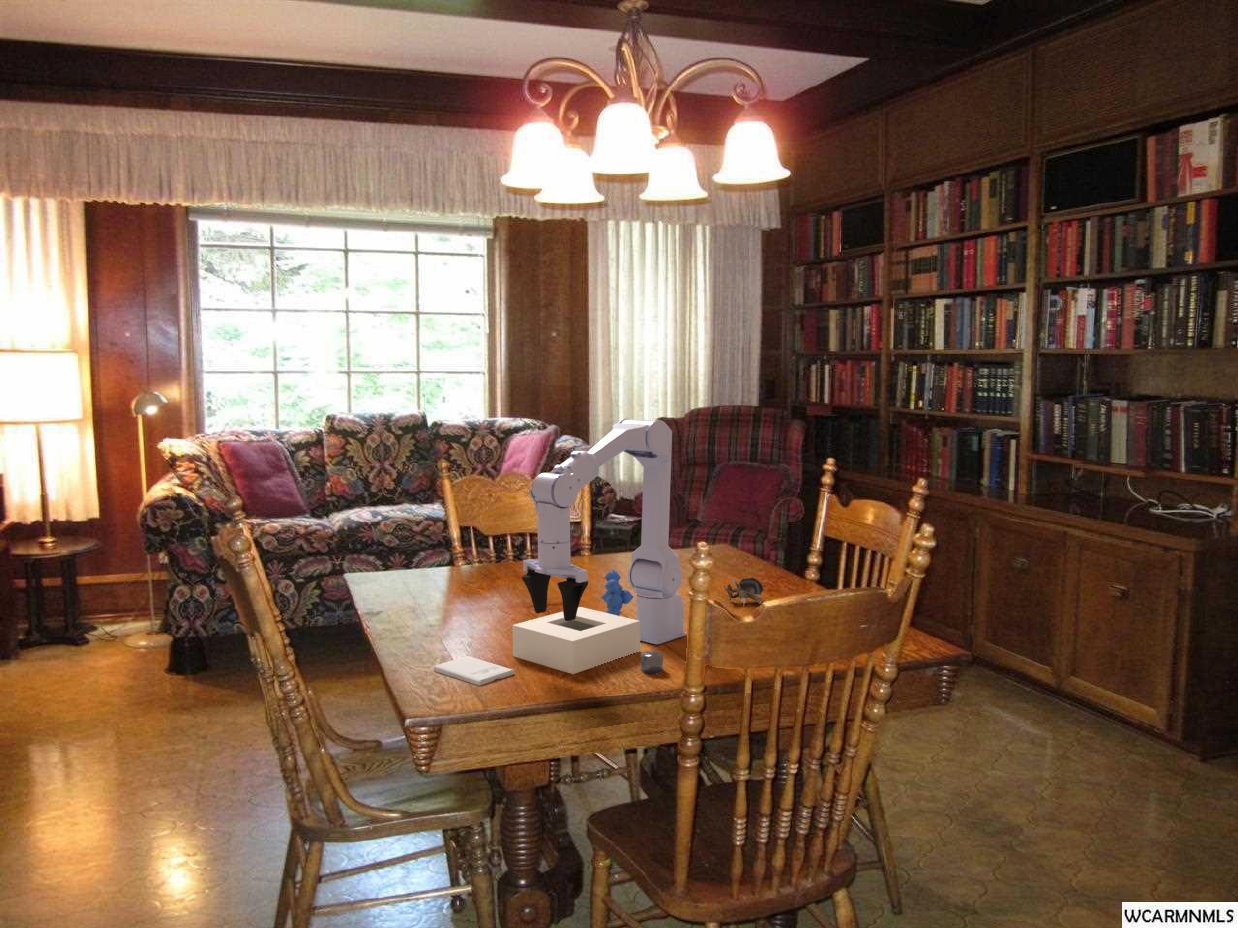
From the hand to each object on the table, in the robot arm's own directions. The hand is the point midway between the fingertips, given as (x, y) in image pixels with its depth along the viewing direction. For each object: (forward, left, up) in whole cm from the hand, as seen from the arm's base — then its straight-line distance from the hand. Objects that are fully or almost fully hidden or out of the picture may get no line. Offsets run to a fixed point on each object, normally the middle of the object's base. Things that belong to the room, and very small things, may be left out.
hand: (555, 615), depth 177 cm
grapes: (-30, -12, -10) cm, 34 cm away
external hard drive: (+10, -10, -11) cm, 18 cm away
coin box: (-10, -4, -10) cm, 15 cm away
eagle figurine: (-62, -2, -10) cm, 63 cm away
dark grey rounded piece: (-12, +13, -10) cm, 20 cm away
